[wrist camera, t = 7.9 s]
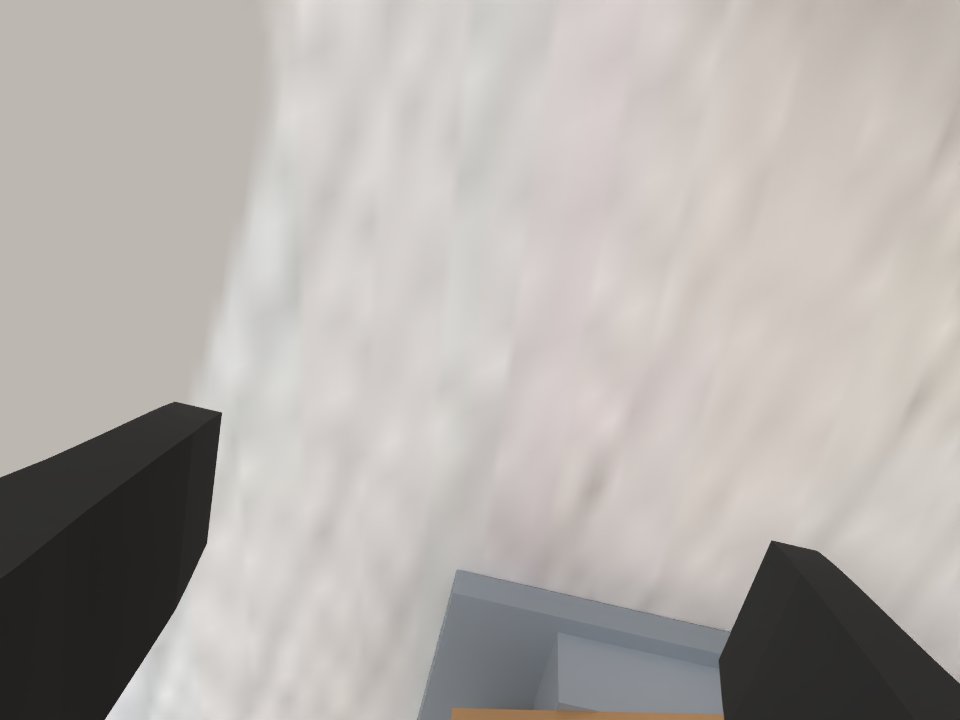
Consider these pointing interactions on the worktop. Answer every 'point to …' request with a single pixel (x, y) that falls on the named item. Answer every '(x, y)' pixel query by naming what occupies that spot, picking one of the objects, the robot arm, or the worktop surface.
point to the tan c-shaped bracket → (568, 715)
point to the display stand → (566, 655)
